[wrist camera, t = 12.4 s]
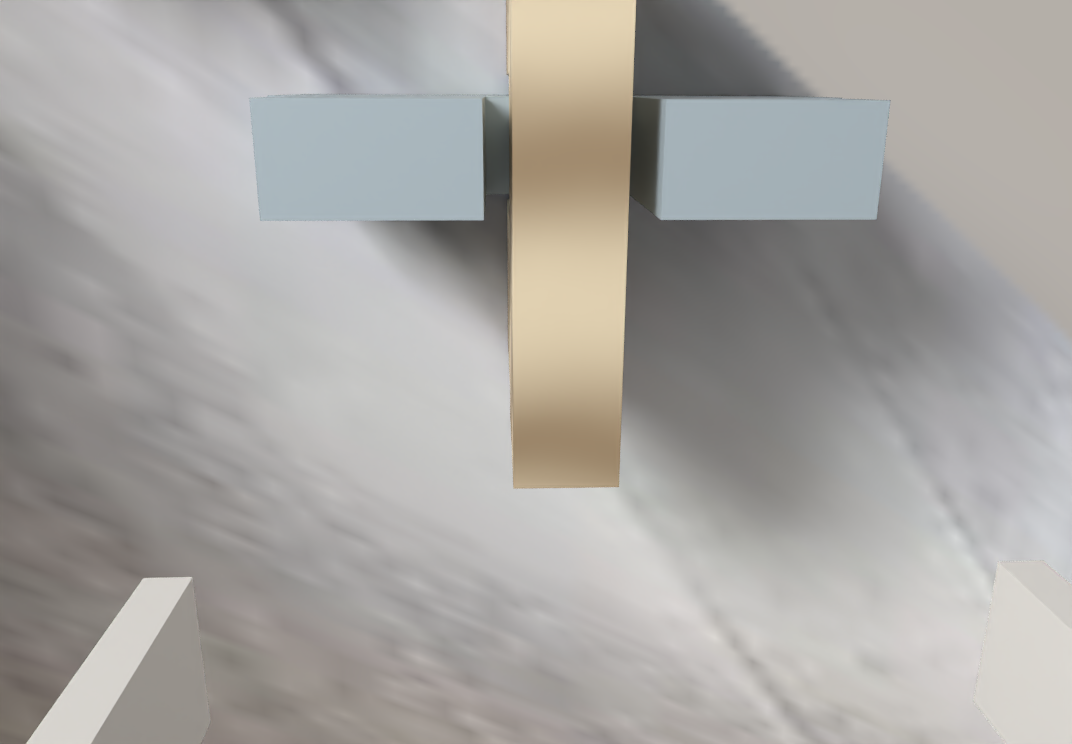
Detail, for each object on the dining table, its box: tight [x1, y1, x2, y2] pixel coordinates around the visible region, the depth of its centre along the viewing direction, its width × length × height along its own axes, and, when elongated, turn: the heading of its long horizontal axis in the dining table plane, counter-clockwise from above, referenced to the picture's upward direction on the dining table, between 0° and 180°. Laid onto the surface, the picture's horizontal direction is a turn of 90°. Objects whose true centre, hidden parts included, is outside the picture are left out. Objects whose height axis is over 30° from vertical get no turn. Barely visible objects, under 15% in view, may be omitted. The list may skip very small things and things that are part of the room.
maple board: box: [506, 0, 636, 488], centre depth 29 cm, size 18×3×12 cm, turn 0°
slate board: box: [249, 94, 890, 221], centre depth 29 cm, size 18×3×12 cm, turn 90°
